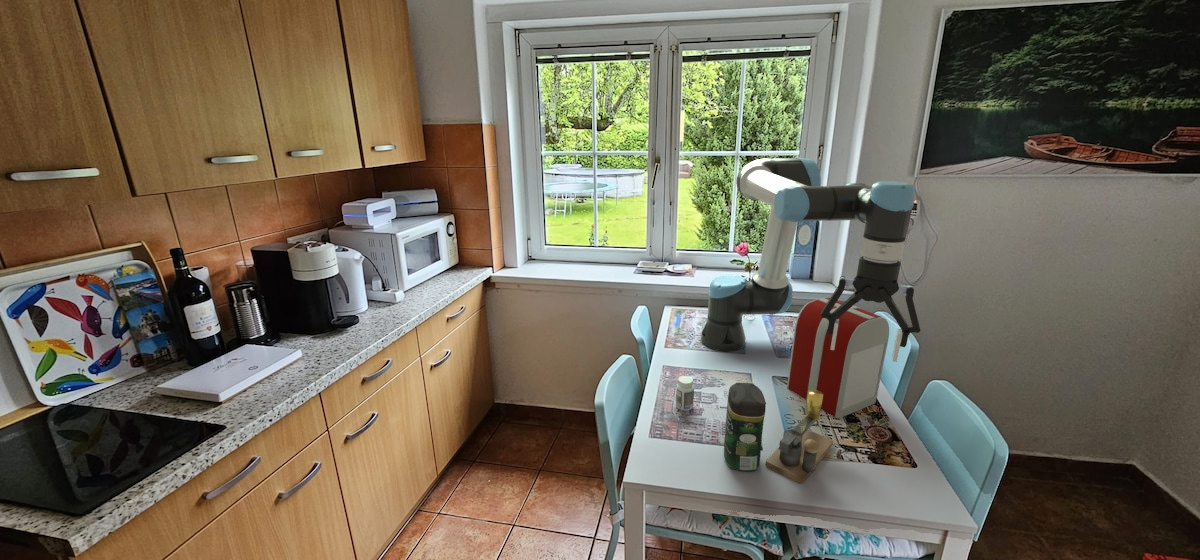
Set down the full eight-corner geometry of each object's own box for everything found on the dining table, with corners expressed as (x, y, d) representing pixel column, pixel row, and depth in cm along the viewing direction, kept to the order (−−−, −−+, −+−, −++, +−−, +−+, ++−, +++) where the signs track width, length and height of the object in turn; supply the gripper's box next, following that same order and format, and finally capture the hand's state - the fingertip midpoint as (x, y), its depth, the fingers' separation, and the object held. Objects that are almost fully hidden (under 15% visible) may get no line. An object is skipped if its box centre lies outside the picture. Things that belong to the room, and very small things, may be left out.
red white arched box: (837, 419, 128) (853, 325, 119) (784, 387, 143) (796, 302, 134) (877, 402, 135) (895, 312, 126) (823, 373, 150) (836, 291, 141)
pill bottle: (694, 402, 136) (695, 376, 133) (691, 412, 132) (693, 385, 129) (677, 399, 138) (678, 373, 135) (674, 409, 133) (675, 382, 131)
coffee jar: (720, 444, 119) (726, 377, 113) (754, 446, 118) (761, 379, 112) (725, 472, 110) (732, 401, 104) (761, 474, 109) (770, 403, 103)
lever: (774, 447, 108) (778, 418, 106) (806, 414, 120) (810, 387, 118) (792, 455, 106) (796, 426, 103) (822, 421, 117) (827, 393, 115)
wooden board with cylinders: (765, 465, 112) (769, 433, 109) (798, 429, 124) (802, 400, 121) (806, 486, 106) (811, 452, 103) (837, 446, 118) (842, 415, 115)
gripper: (816, 256, 102) (803, 349, 110) (952, 271, 92) (928, 372, 99) (819, 247, 109) (806, 336, 116) (946, 260, 98) (924, 356, 106)
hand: (862, 353), depth 108 cm, fingers open, 11 cm apart
